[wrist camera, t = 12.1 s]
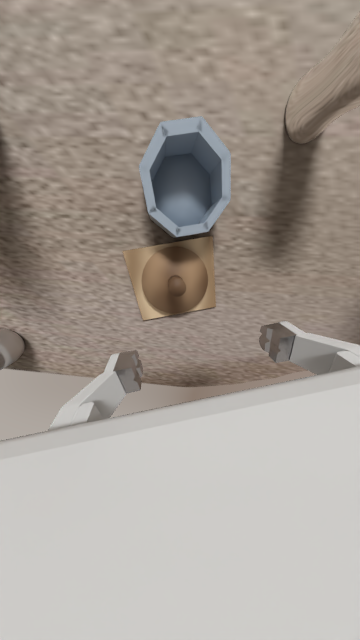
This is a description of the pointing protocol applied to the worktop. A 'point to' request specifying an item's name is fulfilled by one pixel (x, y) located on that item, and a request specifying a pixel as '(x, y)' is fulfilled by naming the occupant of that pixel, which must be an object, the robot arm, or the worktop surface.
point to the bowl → (186, 176)
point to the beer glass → (326, 89)
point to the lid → (174, 280)
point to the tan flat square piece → (140, 256)
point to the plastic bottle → (10, 347)
